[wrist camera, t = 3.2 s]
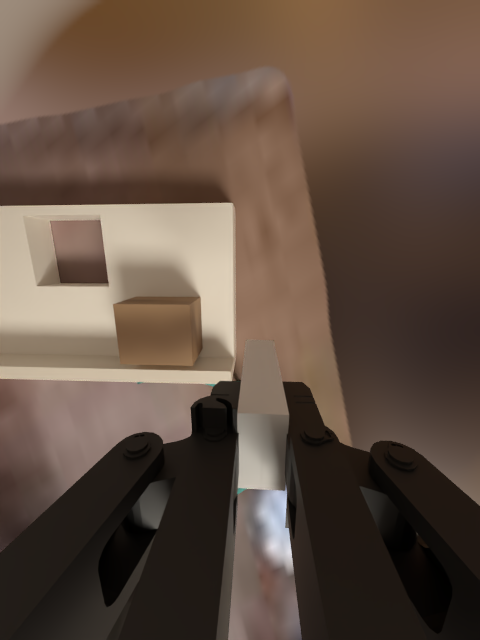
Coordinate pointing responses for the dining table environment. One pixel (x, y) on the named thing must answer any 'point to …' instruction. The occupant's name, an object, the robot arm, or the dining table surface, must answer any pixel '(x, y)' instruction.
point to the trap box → (115, 290)
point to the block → (159, 330)
